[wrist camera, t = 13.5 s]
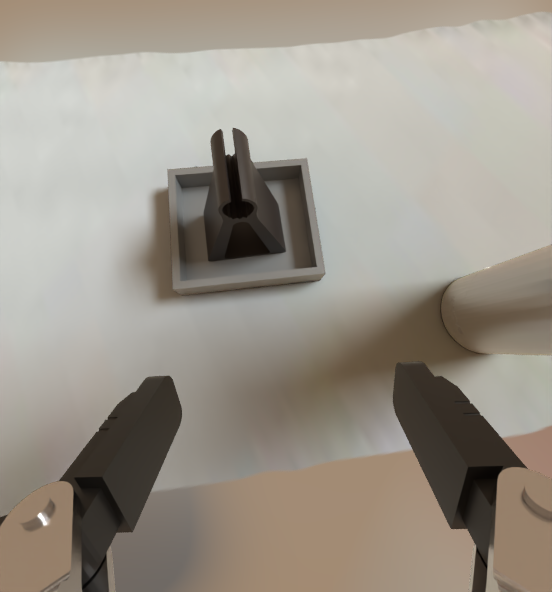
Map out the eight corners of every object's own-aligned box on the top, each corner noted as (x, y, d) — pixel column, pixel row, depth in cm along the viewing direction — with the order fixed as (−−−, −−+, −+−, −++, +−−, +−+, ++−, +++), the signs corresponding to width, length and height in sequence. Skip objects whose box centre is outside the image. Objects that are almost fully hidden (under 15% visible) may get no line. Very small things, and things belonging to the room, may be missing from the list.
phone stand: (208, 262, 30) (171, 206, 18) (204, 214, 31) (166, 133, 19) (285, 252, 31) (298, 192, 19) (278, 206, 32) (286, 122, 20)
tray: (303, 175, 33) (306, 158, 30) (319, 280, 31) (325, 273, 28) (176, 185, 32) (167, 169, 30) (182, 295, 30) (172, 289, 27)
